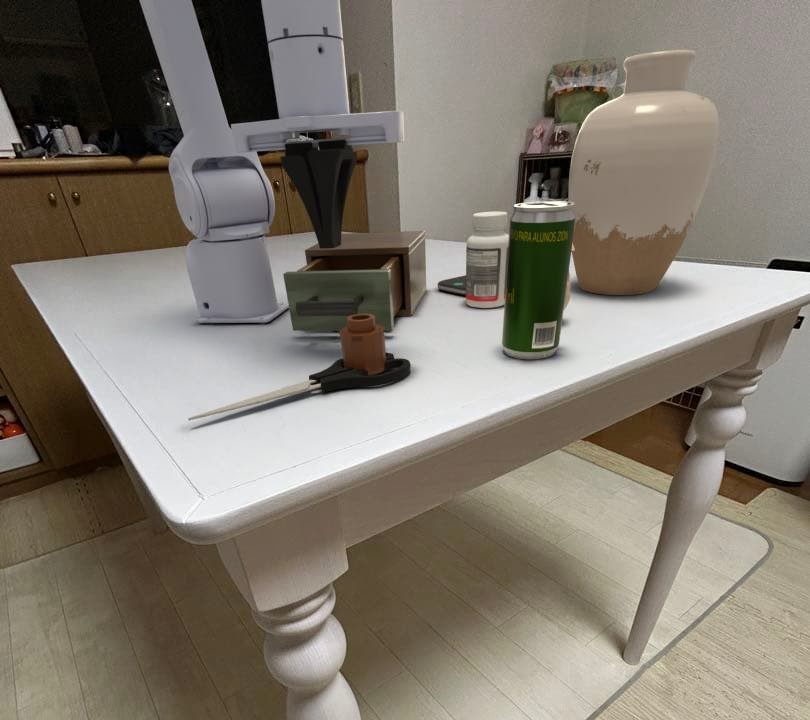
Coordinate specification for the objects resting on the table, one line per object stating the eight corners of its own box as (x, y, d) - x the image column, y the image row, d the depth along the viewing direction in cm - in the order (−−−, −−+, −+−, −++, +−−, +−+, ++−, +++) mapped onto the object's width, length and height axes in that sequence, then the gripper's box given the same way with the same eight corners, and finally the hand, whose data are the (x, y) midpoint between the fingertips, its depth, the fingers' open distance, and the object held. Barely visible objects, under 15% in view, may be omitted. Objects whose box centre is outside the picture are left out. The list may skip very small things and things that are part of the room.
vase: (690, 279, 70) (751, 51, 56) (668, 306, 60) (736, 35, 46) (576, 272, 77) (604, 69, 63) (538, 295, 67) (563, 58, 53)
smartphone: (432, 282, 72) (507, 265, 79) (432, 288, 73) (507, 272, 80) (469, 289, 67) (546, 271, 74) (469, 297, 68) (545, 278, 75)
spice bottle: (340, 375, 46) (333, 323, 43) (350, 361, 49) (345, 311, 46) (381, 376, 45) (377, 323, 43) (389, 361, 48) (386, 311, 46)
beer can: (569, 353, 49) (592, 203, 41) (523, 364, 47) (537, 209, 40) (534, 339, 52) (549, 199, 45) (490, 349, 51) (498, 205, 43)
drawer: (383, 344, 51) (378, 281, 48) (277, 344, 53) (265, 283, 49) (410, 302, 64) (408, 250, 61) (325, 303, 66) (318, 253, 63)
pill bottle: (485, 296, 68) (489, 210, 62) (516, 302, 65) (523, 211, 59) (456, 304, 66) (457, 214, 60) (487, 311, 62) (491, 216, 56)
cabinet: (411, 316, 62) (408, 246, 58) (314, 316, 64) (304, 249, 60) (426, 290, 73) (425, 230, 68) (342, 292, 75) (335, 233, 70)
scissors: (207, 441, 37) (422, 372, 46) (204, 430, 36) (422, 363, 46) (177, 414, 41) (379, 356, 50) (174, 403, 41) (378, 347, 50)
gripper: (193, 46, 38) (239, 255, 46) (380, 23, 34) (393, 253, 42) (242, 57, 43) (275, 242, 51) (407, 38, 39) (414, 240, 48)
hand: (330, 246), depth 47 cm, fingers closed
